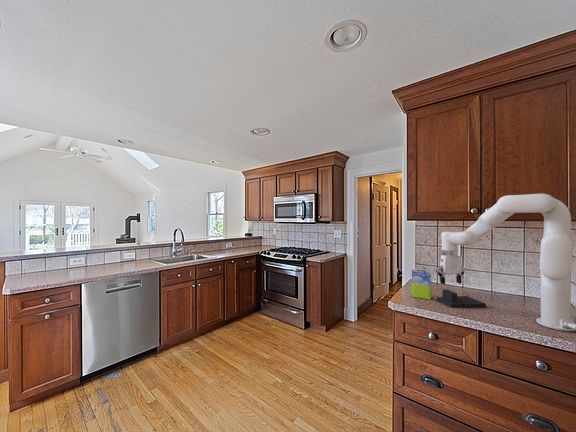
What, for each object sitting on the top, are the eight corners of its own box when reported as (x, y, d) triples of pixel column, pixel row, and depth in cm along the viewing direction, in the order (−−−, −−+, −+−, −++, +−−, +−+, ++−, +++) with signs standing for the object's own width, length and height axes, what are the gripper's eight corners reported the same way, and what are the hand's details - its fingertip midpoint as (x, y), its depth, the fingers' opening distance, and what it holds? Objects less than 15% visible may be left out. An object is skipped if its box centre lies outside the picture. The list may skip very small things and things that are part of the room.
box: (431, 298, 157) (431, 269, 157) (430, 300, 153) (430, 271, 153) (412, 295, 163) (412, 268, 163) (411, 296, 159) (411, 269, 159)
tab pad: (467, 307, 141) (467, 294, 141) (451, 307, 140) (451, 294, 140) (452, 300, 153) (452, 288, 153) (436, 300, 152) (436, 288, 152)
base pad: (486, 307, 140) (486, 303, 140) (465, 307, 140) (465, 304, 140) (466, 299, 154) (466, 295, 154) (447, 299, 154) (447, 296, 154)
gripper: (439, 254, 142) (440, 285, 142) (469, 253, 143) (470, 284, 143) (431, 253, 150) (432, 282, 149) (459, 252, 151) (460, 281, 150)
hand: (450, 283), depth 146 cm, fingers open, 9 cm apart
